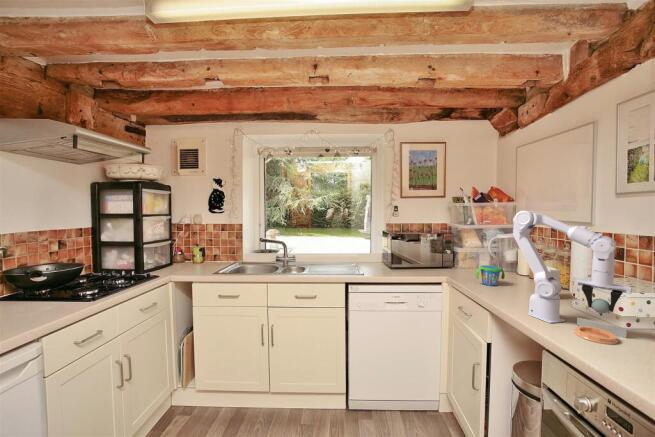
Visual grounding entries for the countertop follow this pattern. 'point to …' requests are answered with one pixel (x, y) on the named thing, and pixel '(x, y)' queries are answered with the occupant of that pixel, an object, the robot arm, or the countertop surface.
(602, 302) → the ball
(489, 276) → the snack cup
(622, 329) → the acrylic wall
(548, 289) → the robot arm
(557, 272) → the skincare box
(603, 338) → the bowl
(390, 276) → the countertop surface
